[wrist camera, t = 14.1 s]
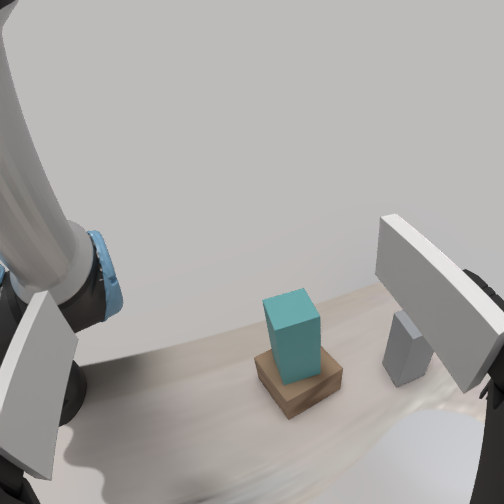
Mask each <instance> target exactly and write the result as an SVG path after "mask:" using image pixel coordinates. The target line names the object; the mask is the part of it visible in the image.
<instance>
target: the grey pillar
mask: <svg viewBox="0 0 504 504" xmlns="http://www.w3.org/2000/svg"><path fill="white" fill-rule="evenodd" d="M433 353H434V350H433V349H432V347H431V346H430V345H429V343H428V342H427V341H426V339H425V338H424V336H423V335H422V334H421V332H420V331H419V330H418V328H417V327H416V326H415V324H414V323H413V322H412V320H411V319H410V318H409V316H408V315H407V314H406V313H405V311H404V310H402V311H399V312H396V313H394V316H393V321H392V326H391V330H390V334H389V339H388V343H387V347H386V351H385V355H384V359H383V362H382V364H383V365H384V367H385V369H386V371H387V372H388V374H389V376H390V377H391V379H392V381H393V383H394V384H395V386H396V387H399V386H401V385H403V384H406V383H408V382H410V381H413V380H415V379H417V378H419V377H421V376H423V375H424V374H425V371H426V369H427V367H428V364H429V362H430V360H431V357H432V355H433Z"/></svg>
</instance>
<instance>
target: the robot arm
mask: <svg viewBox="0 0 504 504" xmlns="http://www.w3.org/2000/svg"><path fill="white" fill-rule="evenodd" d="M17 3H18V0H0V260H1V261H2V262H3V263H4V264H5V265H6V267H7V268H8V269H9V270H10V271H8V272H5V268H4V267H3V266H2V265H1V264H0V504H40V502H39V500H38V498H37V496H36V495H35V493H34V491H33V489H32V487H31V485H30V483H29V482H28V481H27V479H26V478H24V477H23V474H24V471H25V472H26V473H28V474H29V475H31V476H33V477H34V478H38V479H44V480H52V470H53V461H54V454H55V446H56V439H57V433H58V427H60V426H62V425H64V424H65V423H66V422H68V421H69V420H70V419H71V418H72V417H73V416H74V415H75V414H76V412H77V411H78V409H79V408H80V406H81V404H82V402H83V400H84V397H85V393H86V379H85V375H84V373H83V371H82V370H81V369H80V367H79V366H78V365H77V364H76V362H75V361H74V360H73V357H74V353H75V350H76V346H77V343H78V338H77V337H76V335H75V333H77V332H79V331H81V330H83V329H85V328H88V327H90V326H92V325H94V324H96V323H99V322H104V321H106V320H107V319H108V318H109V317H111V316H112V315H114V314H116V313H118V312H119V311H120V310H121V309H122V306H123V297H122V293H121V289H120V286H119V283H118V280H117V278H116V274H115V271H114V267H113V264H112V261H111V258H110V255H109V253H108V250H107V247H106V244H105V242H104V239H103V237H102V235H101V234H100V232H98V231H95V230H94V231H87V232H86V231H85V230H84V228H83V227H81V226H80V225H79V224H77V223H75V222H72V221H70V220H66V218H65V216H64V214H63V212H62V209H61V207H60V205H59V203H58V201H57V199H56V197H55V195H54V192H53V190H52V188H51V186H50V184H49V181H48V179H47V177H46V174H45V172H44V170H43V167H42V165H41V162H40V160H39V157H38V155H37V152H36V150H35V147H34V145H33V142H32V139H31V137H30V134H29V131H28V128H27V125H26V123H25V120H24V117H23V114H22V110H21V107H20V104H19V101H18V98H17V95H16V91H15V88H14V84H13V81H12V77H11V73H10V69H9V66H8V61H7V57H6V52H5V48H4V44H3V38H2V27H3V25H4V24H5V22H6V20H7V19H8V17H9V15H10V14H11V12H12V10H13V9H14V7H15V6H16V4H17ZM375 275H376V276H377V277H378V278H379V280H380V281H381V282H382V283H383V285H384V286H385V287H386V288H387V290H388V291H389V292H390V293H391V295H392V296H393V297H394V298H395V300H396V301H397V302H398V304H399V305H400V306H401V307H402V309H403V310H404V311H405V313H406V314H407V315H408V316H409V318H410V319H411V320H412V322H413V323H414V324H415V326H416V327H417V328H418V330H419V331H420V332H421V334H422V335H423V336H424V338H425V339H426V341H427V342H428V343H429V345H430V346H431V347H432V349H433V350H434V352H435V353H436V354H437V356H438V357H439V359H440V360H441V361H442V363H443V364H444V366H445V367H446V369H447V370H448V371H449V373H450V374H451V376H452V377H453V379H454V380H455V382H456V383H457V385H458V386H459V388H460V389H461V391H462V392H463V394H464V393H466V392H468V391H469V390H471V389H472V388H474V387H476V386H477V385H479V384H480V383H481V381H482V380H483V378H484V377H485V375H486V374H487V373H488V374H489V375H490V377H491V379H490V380H489V382H488V383H487V385H486V386H485V388H484V389H483V390H482V392H481V394H480V397H479V399H482V398H483V397H484V395H485V394H486V393H487V391H488V396H487V397H486V400H487V410H486V420H485V428H484V436H483V443H482V450H481V455H480V461H479V466H478V471H477V475H476V480H475V485H474V488H473V492H472V496H471V500H470V504H504V300H502V298H501V297H500V296H499V295H496V294H495V291H494V290H493V289H492V288H491V287H488V285H487V284H486V283H485V282H484V281H483V280H482V279H481V278H480V277H479V276H478V275H476V274H474V273H472V272H470V271H468V270H466V269H465V270H461V269H460V268H459V267H458V266H457V265H456V264H454V263H453V262H452V261H451V260H450V259H449V258H448V257H447V256H446V255H445V254H443V253H442V252H441V251H440V250H439V249H438V248H437V247H435V246H434V245H433V244H432V243H431V242H430V241H429V240H427V239H426V238H425V237H424V236H423V235H422V234H420V233H419V232H418V231H417V230H416V229H414V228H413V227H412V226H411V225H409V224H408V223H407V222H406V221H405V220H403V219H402V218H401V217H400V216H398V215H397V214H392V215H387V216H382V217H380V228H379V241H378V251H377V261H376V272H375Z"/></svg>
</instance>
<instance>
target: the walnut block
mask: <svg viewBox="0 0 504 504" xmlns="http://www.w3.org/2000/svg"><path fill="white" fill-rule="evenodd" d="M254 360H255V364H256V368H257V373H258V377H259V379H260V381H261V382H262V383H263V385H264V386H265V388H266V389H267V390H268V392H269V393H270V395H271V396H272V397H273V399H274V400H275V401H276V403H277V404H278V406H279V407H280V408H281V410H282V411H283V412H284V414H285V415H286V416H287V418H288V419H291V418H293V417H294V416H296V415H298V414H300V413H301V412H303V411H305V410H306V409H308V408H310V407H312V406H313V405H315V404H317V403H318V402H320V401H322V400H323V399H325V398H326V397H328V396H330V395H331V394H333V393H334V392H336V391H337V390H339V389H340V387H341V380H342V372H343V368H342V367H341V366H340V365H339V364H338V363H337V362H336V361H335V360H334V359H333V358H332V357H331V356H330V355H329V354H328V353H327V352H326V351H325V350H324V349H323V348H322V347H321V373H320V374H317V375H314V376H311V377H308V378H305V379H302V380H299V381H296V382H293V383H290V384H287V385H283V382H282V379H281V377H280V374H279V371H278V369H277V366H276V363H275V360H274V358H273V353H272V349H270V350H268V351H266V352H264V353H262V354H260V355H258V356H256V357H254Z"/></svg>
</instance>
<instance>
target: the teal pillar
mask: <svg viewBox="0 0 504 504" xmlns="http://www.w3.org/2000/svg"><path fill="white" fill-rule="evenodd" d="M263 306H264V311H265V316H266V321H267V327H268V332H269V337H270V342H271V348H272V353H273V358H274V360H275V363H276V366H277V369H278V371H279V374H280V377H281V379H282V382H283V385H287V384H290V383H293V382H296V381H299V380H302V379H305V378H308V377H311V376H314V375H317V374H320V373H321V334H320V315H319V313H318V312H317V310H316V308H315V306H314V305H313V303H312V301H311V299H310V298H309V296H308V295H307V293H306V291H305V289H304V288H302V289H299V290H296V291H292V292H289V293H285V294H282V295H278V296H275V297H271V298H268V299H264V300H263Z"/></svg>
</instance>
